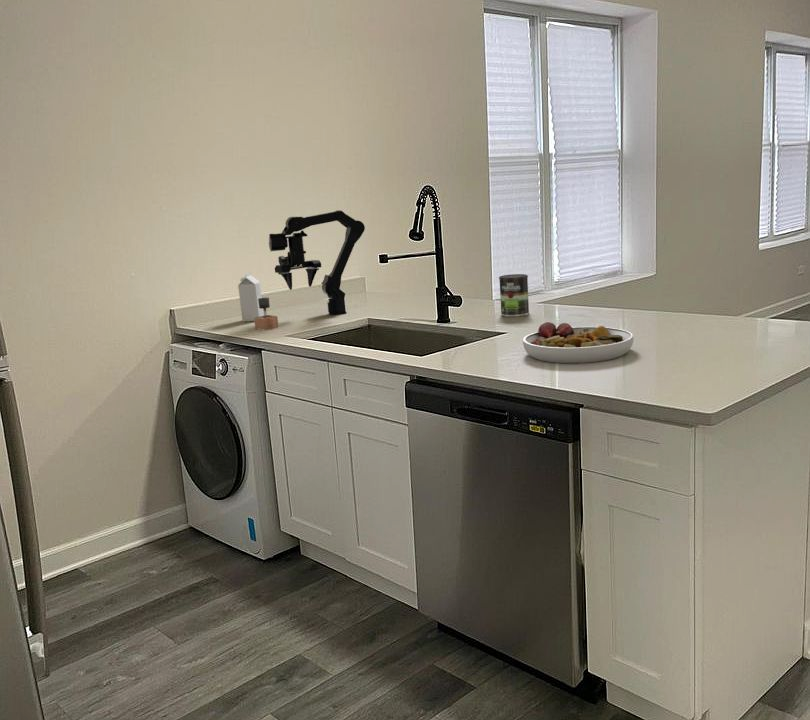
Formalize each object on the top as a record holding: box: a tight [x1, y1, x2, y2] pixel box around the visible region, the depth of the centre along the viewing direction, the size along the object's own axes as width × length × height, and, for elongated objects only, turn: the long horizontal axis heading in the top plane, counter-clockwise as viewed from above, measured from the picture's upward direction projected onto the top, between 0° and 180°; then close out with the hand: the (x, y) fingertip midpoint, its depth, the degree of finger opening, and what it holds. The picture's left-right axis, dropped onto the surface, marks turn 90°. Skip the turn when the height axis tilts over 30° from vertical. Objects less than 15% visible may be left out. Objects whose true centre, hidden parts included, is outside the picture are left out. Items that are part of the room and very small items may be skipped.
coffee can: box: [498, 273, 530, 318], centre depth 304 cm, size 10×10×14 cm
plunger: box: [258, 296, 270, 318], centre depth 320 cm, size 4×4×10 cm
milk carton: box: [237, 272, 264, 323], centre depth 341 cm, size 7×7×19 cm
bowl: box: [522, 321, 634, 364], centre depth 234 cm, size 30×30×8 cm
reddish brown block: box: [253, 314, 279, 330], centre depth 320 cm, size 6×9×4 cm
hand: (300, 288), depth 336 cm, fingers open, 9 cm apart
